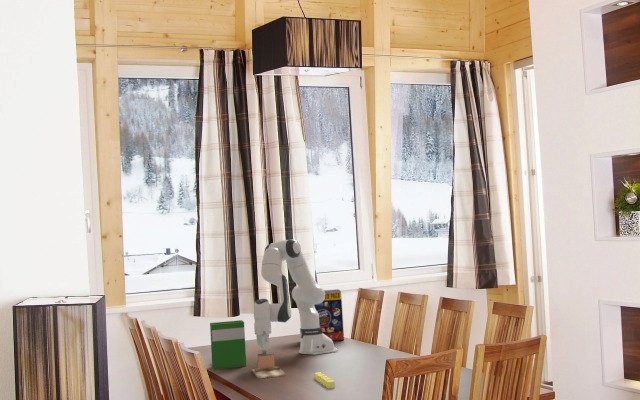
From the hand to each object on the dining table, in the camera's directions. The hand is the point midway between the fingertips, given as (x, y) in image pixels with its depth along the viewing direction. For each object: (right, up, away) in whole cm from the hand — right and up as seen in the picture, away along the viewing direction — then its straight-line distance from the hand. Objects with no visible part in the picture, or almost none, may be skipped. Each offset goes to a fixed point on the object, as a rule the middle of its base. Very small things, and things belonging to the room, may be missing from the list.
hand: (264, 356), depth 398 cm
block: (+1, -6, -4) cm, 7 cm away
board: (+3, -7, -10) cm, 12 cm away
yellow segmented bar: (+33, -5, -37) cm, 50 cm away
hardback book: (-20, -8, +14) cm, 26 cm away
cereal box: (+31, -7, +79) cm, 85 cm away
